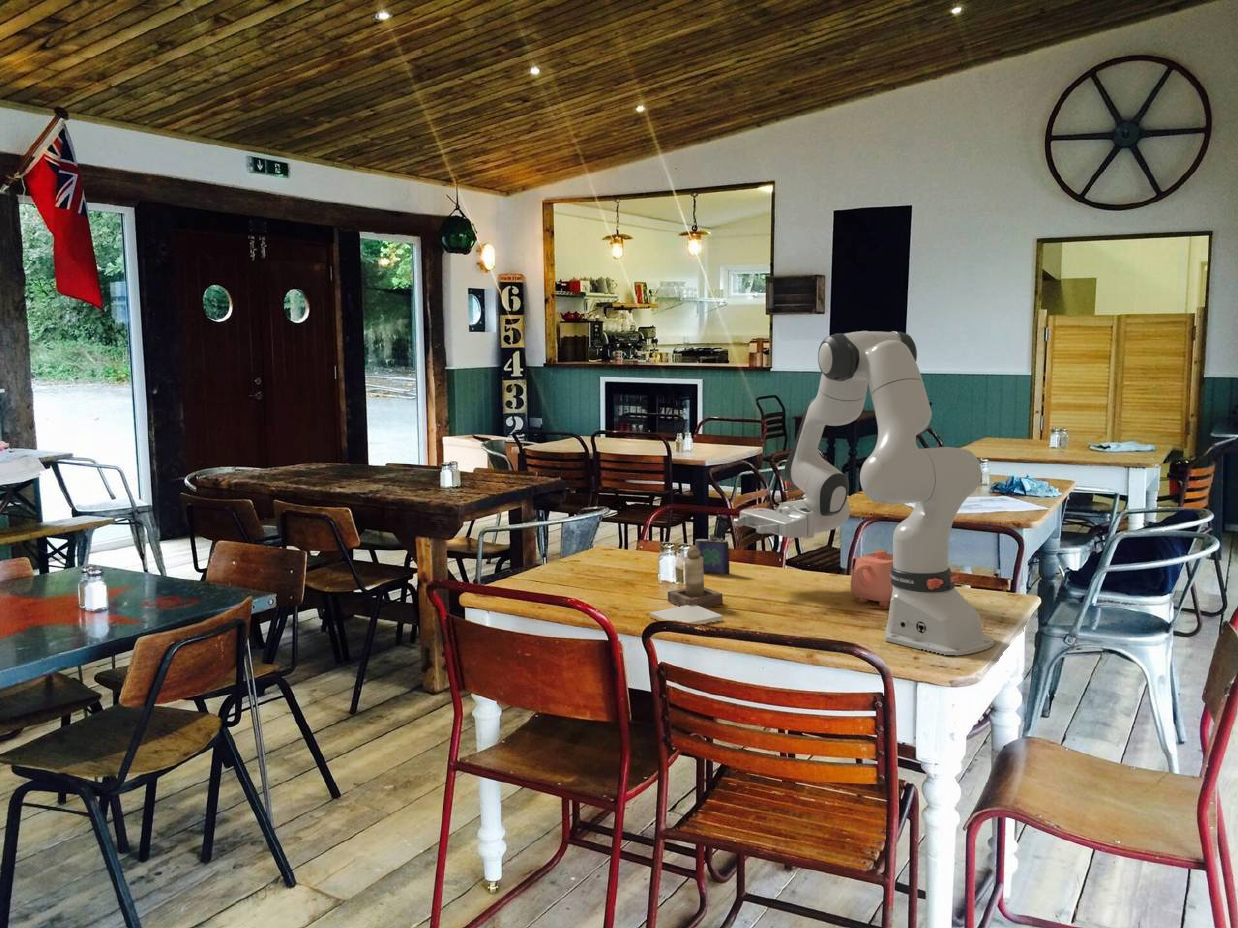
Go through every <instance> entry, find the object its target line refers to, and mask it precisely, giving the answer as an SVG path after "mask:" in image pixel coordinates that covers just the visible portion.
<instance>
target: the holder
mask: <svg viewBox="0 0 1238 928" xmlns="http://www.w3.org/2000/svg"><path fill="white" fill-rule="evenodd" d="M668 601H669V602H671V603H670V604H672V603H673V604H672V605H674V604H676V605H675V606H677V605H678V606H677V607H679V606H685V605H689V606H690V605H698V606H700V607H703V608H705V609H707V608H710V607H715V606H721V605H723V604H724V603H723V602H724V601H723V593H721V592H718V591H715V590H714V589H710V588H707V587H706V586H704V595H703V596H698V597H693V598H690V597H687V596H686V589H685V588H682V589H676V590H671V591H667V602H668ZM669 602H668V603H669Z"/></svg>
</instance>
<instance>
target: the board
mask: <svg viewBox="0 0 1238 928" xmlns="http://www.w3.org/2000/svg"><path fill="white" fill-rule="evenodd" d="M648 613H649V615H651V616H654V617H656V618H660V619H667V620H677V621H682V622H688V623H696V624H704V623H699V622H712V621H719V620H723V621H724V615H723V614H720V613H717V612H715V611H712V610H711V609H707V608H703V607H700V606H698V605H690V606H689V605H685V606H680V607H679V606H676V607H671V608H665V609H660V610H656V611H649V612H648Z"/></svg>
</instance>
